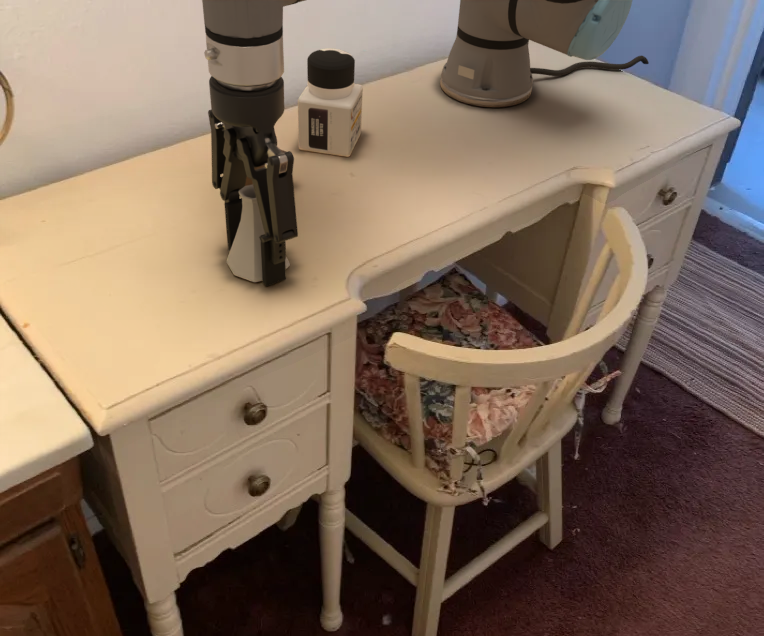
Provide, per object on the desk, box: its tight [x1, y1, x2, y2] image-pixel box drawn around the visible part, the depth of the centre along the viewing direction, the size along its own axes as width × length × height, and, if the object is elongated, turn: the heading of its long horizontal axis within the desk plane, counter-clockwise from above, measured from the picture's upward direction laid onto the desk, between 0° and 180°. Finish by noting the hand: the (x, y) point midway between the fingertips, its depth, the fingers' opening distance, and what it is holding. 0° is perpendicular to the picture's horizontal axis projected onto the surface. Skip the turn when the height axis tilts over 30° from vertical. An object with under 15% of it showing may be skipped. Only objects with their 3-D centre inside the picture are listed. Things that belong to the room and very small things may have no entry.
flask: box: [225, 185, 291, 283], centre depth 97 cm, size 7×7×10 cm
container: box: [297, 47, 364, 158], centre depth 119 cm, size 8×8×13 cm
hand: (256, 264), depth 100 cm, fingers open, 7 cm apart
